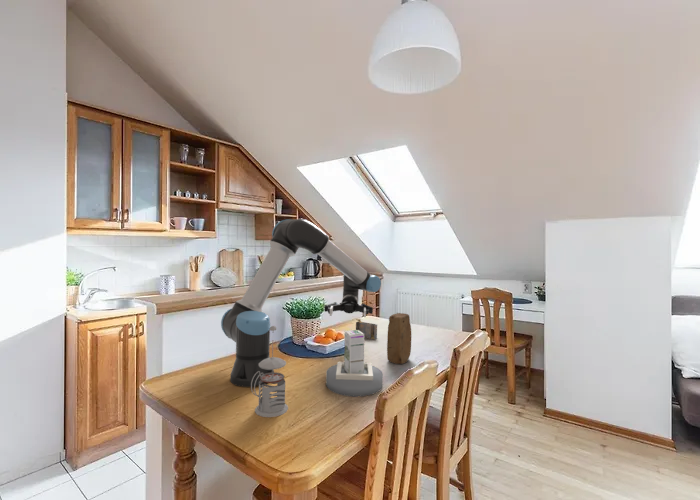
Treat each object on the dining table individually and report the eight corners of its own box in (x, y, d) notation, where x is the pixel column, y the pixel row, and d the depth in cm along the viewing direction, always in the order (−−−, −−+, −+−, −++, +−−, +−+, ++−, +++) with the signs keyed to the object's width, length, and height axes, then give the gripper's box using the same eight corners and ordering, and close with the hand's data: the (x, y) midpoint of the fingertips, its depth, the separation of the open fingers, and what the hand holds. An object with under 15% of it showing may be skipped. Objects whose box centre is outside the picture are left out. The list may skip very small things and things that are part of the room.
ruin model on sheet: (355, 336, 183) (355, 318, 183) (358, 335, 186) (358, 317, 186) (374, 340, 177) (374, 321, 177) (376, 339, 180) (377, 320, 180)
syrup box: (364, 374, 121) (365, 333, 121) (348, 376, 119) (349, 334, 118) (358, 368, 126) (359, 329, 126) (343, 370, 124) (344, 330, 124)
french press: (295, 408, 104) (296, 326, 103) (261, 423, 95) (263, 333, 94) (275, 398, 110) (276, 320, 110) (242, 410, 102) (244, 326, 101)
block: (400, 366, 141) (401, 317, 140) (384, 361, 145) (386, 314, 145) (413, 359, 149) (414, 313, 148) (398, 355, 154) (399, 310, 153)
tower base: (323, 395, 113) (323, 378, 113) (328, 372, 133) (328, 357, 133) (384, 397, 113) (385, 380, 112) (380, 373, 132) (380, 359, 132)
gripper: (376, 313, 158) (378, 324, 136) (322, 310, 159) (316, 321, 137) (377, 296, 157) (379, 305, 136) (322, 294, 158) (316, 302, 137)
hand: (347, 313), depth 137 cm, fingers open, 13 cm apart
